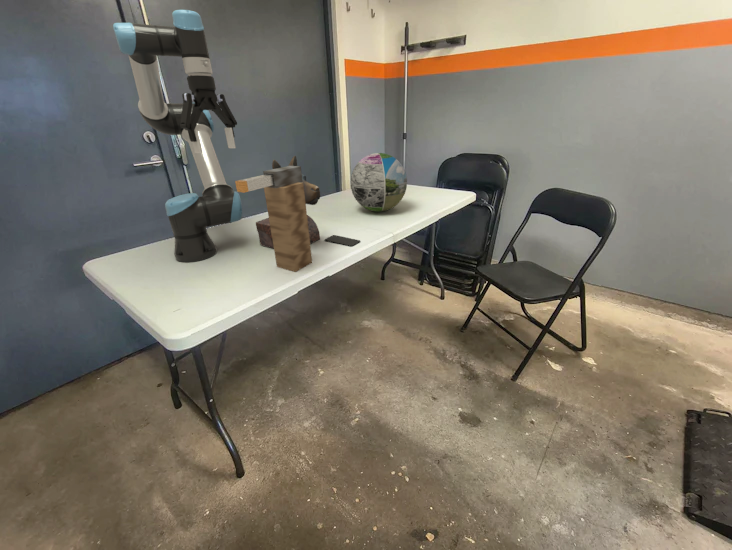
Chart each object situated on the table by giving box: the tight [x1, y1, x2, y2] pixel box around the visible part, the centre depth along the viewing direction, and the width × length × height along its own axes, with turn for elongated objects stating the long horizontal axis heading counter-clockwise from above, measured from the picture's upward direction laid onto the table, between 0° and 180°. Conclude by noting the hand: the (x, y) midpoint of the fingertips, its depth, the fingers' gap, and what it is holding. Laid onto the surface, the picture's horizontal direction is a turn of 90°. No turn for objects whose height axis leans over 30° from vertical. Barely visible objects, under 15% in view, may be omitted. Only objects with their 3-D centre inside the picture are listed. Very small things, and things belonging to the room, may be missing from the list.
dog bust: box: [255, 155, 321, 249], centre depth 130 cm, size 19×28×35 cm, turn 57°
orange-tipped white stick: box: [234, 174, 275, 193], centre depth 102 cm, size 23×3×3 cm, turn 148°
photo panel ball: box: [350, 152, 408, 213], centre depth 174 cm, size 30×30×30 cm
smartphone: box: [323, 234, 361, 248], centre depth 140 cm, size 7×1×15 cm
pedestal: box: [262, 165, 313, 273], centre depth 113 cm, size 12×9×34 cm
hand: (216, 150), depth 108 cm, fingers open, 13 cm apart
